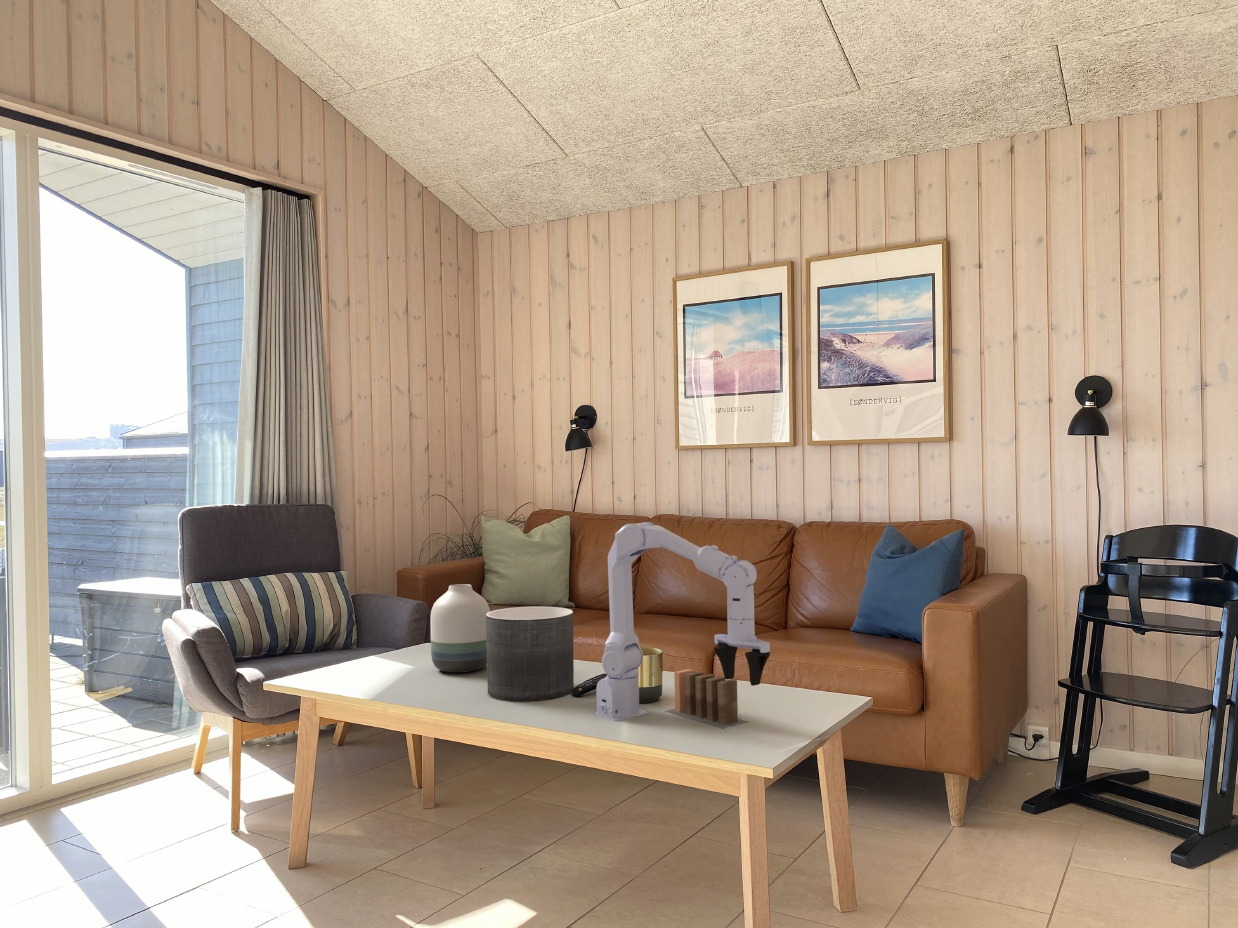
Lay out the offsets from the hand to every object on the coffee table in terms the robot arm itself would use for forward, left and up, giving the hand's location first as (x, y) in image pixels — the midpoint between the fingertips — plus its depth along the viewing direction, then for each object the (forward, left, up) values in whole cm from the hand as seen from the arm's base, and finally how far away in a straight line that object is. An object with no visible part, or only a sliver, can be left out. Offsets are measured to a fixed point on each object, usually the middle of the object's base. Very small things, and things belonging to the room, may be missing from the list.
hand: (742, 681), depth 189 cm
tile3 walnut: (0, +11, -10) cm, 15 cm away
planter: (-16, +59, -10) cm, 62 cm away
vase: (-17, +95, -10) cm, 97 cm away
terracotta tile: (0, +18, -10) cm, 21 cm away
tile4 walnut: (0, +15, -10) cm, 18 cm away
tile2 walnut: (0, +8, -10) cm, 12 cm away
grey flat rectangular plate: (0, +11, -10) cm, 15 cm away
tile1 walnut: (0, +4, -10) cm, 11 cm away
